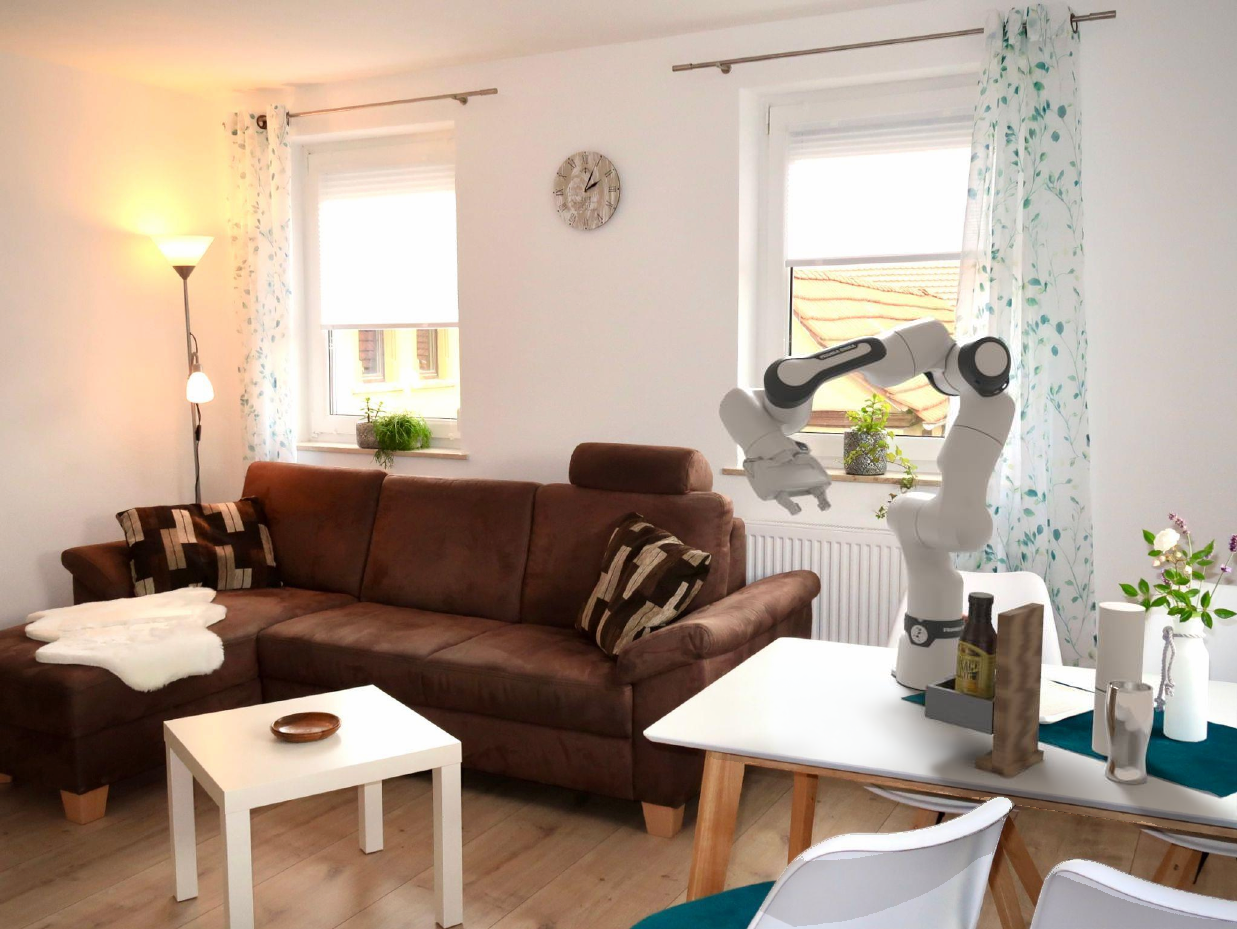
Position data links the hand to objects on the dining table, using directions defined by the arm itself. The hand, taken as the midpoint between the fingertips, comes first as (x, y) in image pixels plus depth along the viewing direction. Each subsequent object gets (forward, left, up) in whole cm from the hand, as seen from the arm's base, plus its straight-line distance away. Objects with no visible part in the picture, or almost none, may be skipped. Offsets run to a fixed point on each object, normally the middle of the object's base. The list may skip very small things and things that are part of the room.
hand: (812, 511), depth 205 cm
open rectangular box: (+2, +36, -31) cm, 47 cm away
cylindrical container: (-17, +51, -38) cm, 66 cm away
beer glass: (-6, +57, -38) cm, 69 cm away
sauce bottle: (+2, +35, -30) cm, 46 cm away
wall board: (+2, +42, -37) cm, 56 cm away
